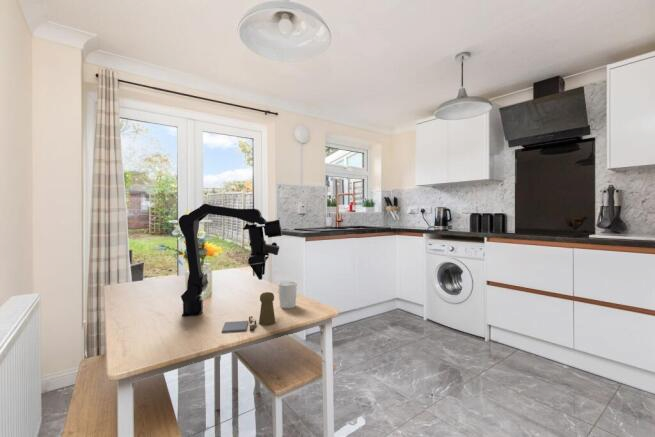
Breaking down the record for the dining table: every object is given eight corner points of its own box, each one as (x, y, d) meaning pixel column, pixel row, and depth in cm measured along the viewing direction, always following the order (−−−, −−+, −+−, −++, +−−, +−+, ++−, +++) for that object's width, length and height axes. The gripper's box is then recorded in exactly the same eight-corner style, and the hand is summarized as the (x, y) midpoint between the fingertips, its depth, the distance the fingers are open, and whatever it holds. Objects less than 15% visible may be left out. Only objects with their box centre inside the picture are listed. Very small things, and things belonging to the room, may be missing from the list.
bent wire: (247, 331, 103) (247, 326, 103) (249, 320, 113) (249, 316, 113) (255, 330, 104) (255, 325, 104) (256, 320, 113) (256, 315, 113)
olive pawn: (276, 319, 114) (276, 290, 114) (274, 325, 108) (274, 295, 108) (260, 319, 114) (260, 290, 114) (257, 325, 108) (257, 295, 108)
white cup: (293, 309, 125) (293, 285, 125) (275, 308, 127) (275, 284, 126) (299, 303, 133) (299, 281, 133) (282, 302, 134) (282, 280, 134)
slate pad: (221, 332, 102) (221, 330, 102) (225, 323, 110) (225, 322, 110) (246, 330, 103) (246, 329, 103) (247, 322, 111) (247, 320, 111)
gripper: (275, 238, 114) (280, 279, 115) (278, 234, 133) (282, 269, 133) (245, 242, 113) (250, 283, 114) (252, 238, 131) (257, 273, 132)
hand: (262, 277), depth 123 cm, fingers open, 9 cm apart
